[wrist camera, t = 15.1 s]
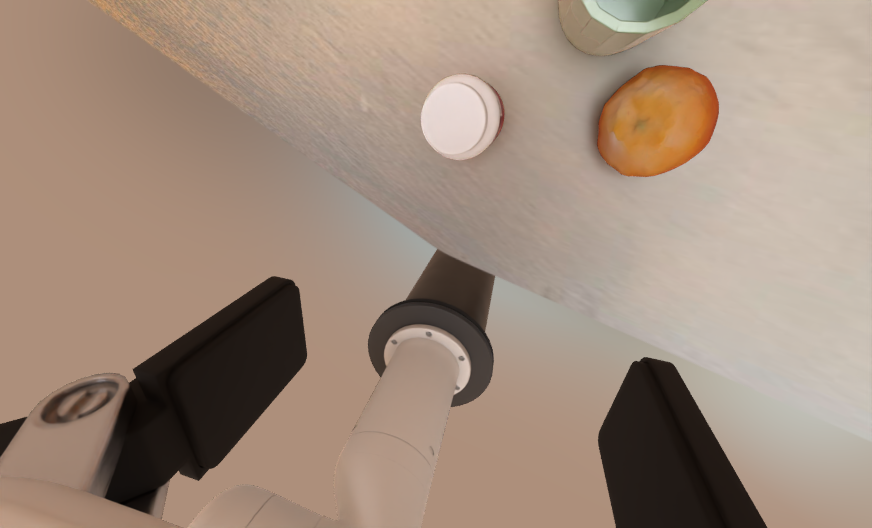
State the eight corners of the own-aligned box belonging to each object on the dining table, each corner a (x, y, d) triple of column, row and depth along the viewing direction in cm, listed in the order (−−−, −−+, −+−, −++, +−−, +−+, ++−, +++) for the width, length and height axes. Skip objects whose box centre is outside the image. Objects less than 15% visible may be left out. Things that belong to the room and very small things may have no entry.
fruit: (702, 178, 29) (682, 190, 23) (609, 163, 33) (576, 171, 28) (747, 72, 25) (735, 59, 20) (635, 73, 30) (602, 62, 25)
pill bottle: (461, 160, 34) (435, 181, 25) (431, 104, 33) (392, 103, 23) (516, 129, 32) (512, 138, 22) (487, 66, 30) (469, 47, 21)
